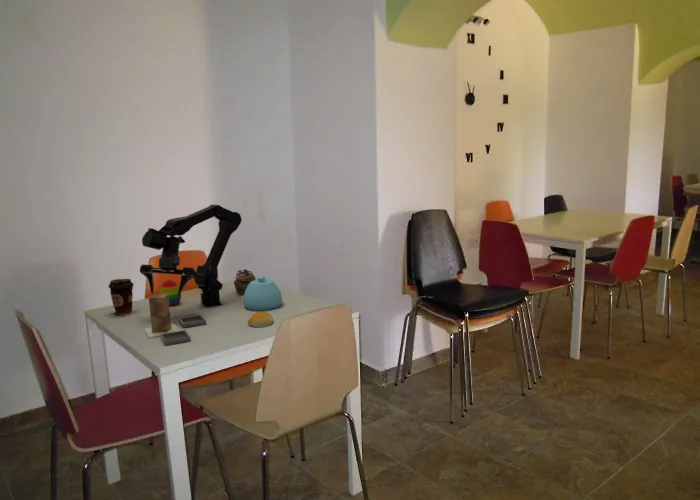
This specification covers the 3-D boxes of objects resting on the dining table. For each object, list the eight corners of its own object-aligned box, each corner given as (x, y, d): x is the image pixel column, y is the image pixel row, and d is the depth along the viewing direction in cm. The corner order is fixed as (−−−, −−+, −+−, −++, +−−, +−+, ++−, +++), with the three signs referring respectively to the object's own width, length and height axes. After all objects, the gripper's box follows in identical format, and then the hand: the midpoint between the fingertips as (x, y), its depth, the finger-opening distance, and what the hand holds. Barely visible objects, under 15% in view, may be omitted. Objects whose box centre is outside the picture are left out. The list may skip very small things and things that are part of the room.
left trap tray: (185, 334, 188) (185, 329, 188) (190, 341, 181) (190, 336, 180) (161, 338, 184) (160, 334, 184) (164, 345, 177) (164, 341, 177)
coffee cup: (120, 318, 208) (116, 284, 206) (106, 315, 212) (102, 281, 210) (140, 311, 215) (137, 278, 213) (126, 309, 220) (123, 276, 217)
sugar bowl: (278, 299, 228) (276, 271, 226) (286, 308, 214) (284, 279, 212) (241, 303, 223) (239, 274, 221) (246, 313, 209) (244, 283, 207)
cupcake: (262, 292, 239) (260, 269, 237) (244, 297, 232) (242, 273, 230) (247, 288, 246) (246, 266, 244) (229, 293, 238) (228, 270, 237)
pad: (174, 325, 198) (174, 323, 198) (179, 333, 189) (179, 331, 189) (144, 330, 193) (144, 328, 193) (148, 338, 185) (148, 337, 185)
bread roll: (245, 328, 193) (244, 316, 192) (254, 320, 202) (253, 309, 201) (268, 328, 192) (267, 317, 191) (276, 320, 200) (275, 309, 200)
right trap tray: (201, 318, 205) (201, 314, 204) (206, 324, 197) (205, 320, 197) (178, 322, 201) (178, 318, 201) (182, 328, 194) (182, 324, 194)
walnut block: (171, 327, 194) (168, 293, 191) (167, 332, 189) (163, 297, 187) (156, 328, 194) (153, 294, 191) (152, 332, 189) (148, 298, 186)
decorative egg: (173, 308, 219) (170, 283, 217) (156, 306, 222) (153, 281, 220) (186, 302, 227) (183, 278, 225) (169, 301, 230) (167, 277, 228)
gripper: (139, 245, 196) (134, 289, 192) (194, 249, 199) (190, 292, 195) (145, 252, 207) (139, 294, 203) (197, 256, 210) (193, 297, 206)
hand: (165, 294), depth 202 cm, fingers open, 9 cm apart
